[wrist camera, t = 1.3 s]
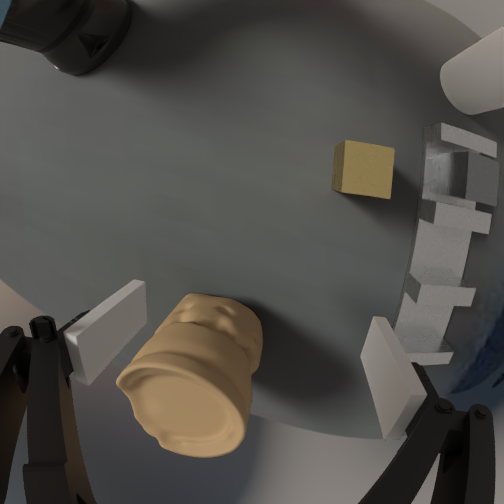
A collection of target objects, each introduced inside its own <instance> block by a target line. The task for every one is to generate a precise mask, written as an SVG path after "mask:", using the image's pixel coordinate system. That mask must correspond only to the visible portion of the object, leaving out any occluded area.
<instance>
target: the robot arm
mask: <svg viewBox="0 0 504 504" xmlns="http://www.w3.org/2000/svg"><path fill="white" fill-rule="evenodd" d="M130 21H131V8H130V6H129V4H128V3H127V2H126V1H125V0H0V42H4V43H8V44H12V45H16V46H19V47H23V48H26V49H30V50H33V51H36V52H39V53H42V54H43V55H44V56H45V57H46V58H47V59H48V60H49V61H50V62H51V63H52V64H53V65H54V66H55V68H56V69H58V70H59V71H61V72H64V73H67V74H70V75H80V74H84V73H87V72H89V71H91V70H93V69H94V68H96V67H97V66H99V65H100V64H101V63H103V62H104V61H105V60H106V59H107V58H108V57H109V56H110V55H111V54H112V53H113V52H114V51H115V50H116V48H117V47H118V46H119V44H120V43H121V41H122V40H123V38H124V36H125V35H126V33H127V30H128V28H129V25H130ZM146 323H147V315H146V293H145V282H144V281H139V280H133V281H131V282H130V283H128V284H127V285H126V286H124V287H123V288H121V289H120V290H119V291H117V292H116V293H115V294H113V295H112V296H110V297H109V298H108V299H106V300H105V301H104V302H102V303H101V304H100V305H98V306H97V307H95V308H94V309H93V310H91V311H90V310H88V311H86V312H83V313H81V314H79V315H78V316H77V317H75V319H72V320H71V321H70V322H68V323H67V324H66V325H64V326H63V327H62V328H60V329H59V330H58V331H57V330H56V325H55V321H54V319H53V318H52V317H50V316H39V317H36V318H33V319H32V320H31V321H30V323H29V325H30V329H31V333H32V337H33V338H31V337H26V336H25V335H24V332H23V329H22V328H21V327H19V326H10V327H7V328H6V329H4V330H3V331H2V333H1V334H0V504H4V502H5V499H6V494H7V489H8V483H9V477H10V471H11V466H12V461H13V456H14V451H15V447H16V443H17V439H18V435H19V431H20V427H21V424H22V420H23V416H24V413H25V410H26V407H27V439H28V456H29V463H28V464H24V465H23V481H24V489H25V496H26V502H27V504H97V503H96V501H95V498H94V496H93V493H92V490H91V486H90V483H89V479H88V476H87V472H86V468H85V464H84V460H83V456H82V452H81V447H80V442H79V437H78V431H77V426H76V420H75V413H74V406H73V398H72V391H71V380H70V378H69V375H70V374H71V373H72V372H73V371H74V375H75V377H76V380H77V381H79V382H81V383H83V384H85V385H87V386H89V385H90V384H91V383H92V382H93V380H94V379H95V378H96V377H97V376H98V375H99V374H100V373H101V372H102V370H103V369H104V368H105V367H106V366H107V365H108V364H109V363H110V362H111V361H112V360H113V358H114V357H115V356H116V355H117V354H118V353H119V352H120V351H121V350H122V349H123V348H124V347H125V345H126V344H127V343H128V342H129V341H130V340H131V339H132V338H133V337H134V336H135V335H136V334H137V332H138V331H139V330H140V329H141V328H142V327H143V326H144V325H145V324H146ZM360 357H361V360H362V364H363V367H364V370H365V373H366V377H367V380H368V383H369V387H370V390H371V393H372V397H373V400H374V404H375V407H376V411H377V415H378V418H379V422H380V426H381V430H382V434H383V437H384V440H399V439H400V438H401V437H402V435H403V434H404V432H405V431H406V434H407V437H408V438H407V439H406V440H405V442H404V443H403V445H402V446H401V447H400V449H399V450H398V452H397V454H396V455H395V457H394V458H393V460H392V461H391V462H390V464H389V465H388V467H387V468H386V470H385V471H384V472H383V473H382V475H381V476H380V477H379V479H378V480H377V481H376V482H375V484H374V485H373V486H372V488H371V489H370V490H369V491H368V492H367V494H366V495H365V496H364V497H363V498H362V499H361V501H360V502H359V503H358V504H411V503H412V501H413V500H414V498H415V496H416V495H417V493H418V491H419V490H420V488H421V486H422V484H423V482H424V481H425V479H426V477H427V475H428V473H429V471H430V469H431V468H432V465H433V464H434V462H435V459H436V457H437V455H438V453H441V454H440V460H439V466H438V472H437V477H436V482H435V487H434V491H433V495H432V500H431V503H430V504H494V495H495V439H494V426H493V416H492V413H491V411H490V410H489V409H488V408H487V407H486V406H484V405H481V404H475V405H473V406H471V408H470V409H469V411H468V412H463V411H456V410H455V408H454V406H453V404H452V403H451V402H449V401H448V400H446V399H443V398H439V396H438V394H437V392H436V390H435V388H434V387H433V385H432V383H431V382H430V379H429V377H428V376H427V374H426V372H425V370H424V369H423V367H421V366H420V365H419V364H418V363H417V362H410V360H409V358H408V356H407V355H406V353H405V351H404V349H403V347H402V345H401V344H400V342H399V340H398V338H397V337H396V335H395V333H394V331H393V330H392V328H391V326H390V324H389V323H388V321H387V319H386V318H385V317H377V316H373V319H372V322H371V325H370V329H369V332H368V335H367V338H366V341H365V344H364V347H363V350H362V353H361V356H360Z"/></svg>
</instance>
